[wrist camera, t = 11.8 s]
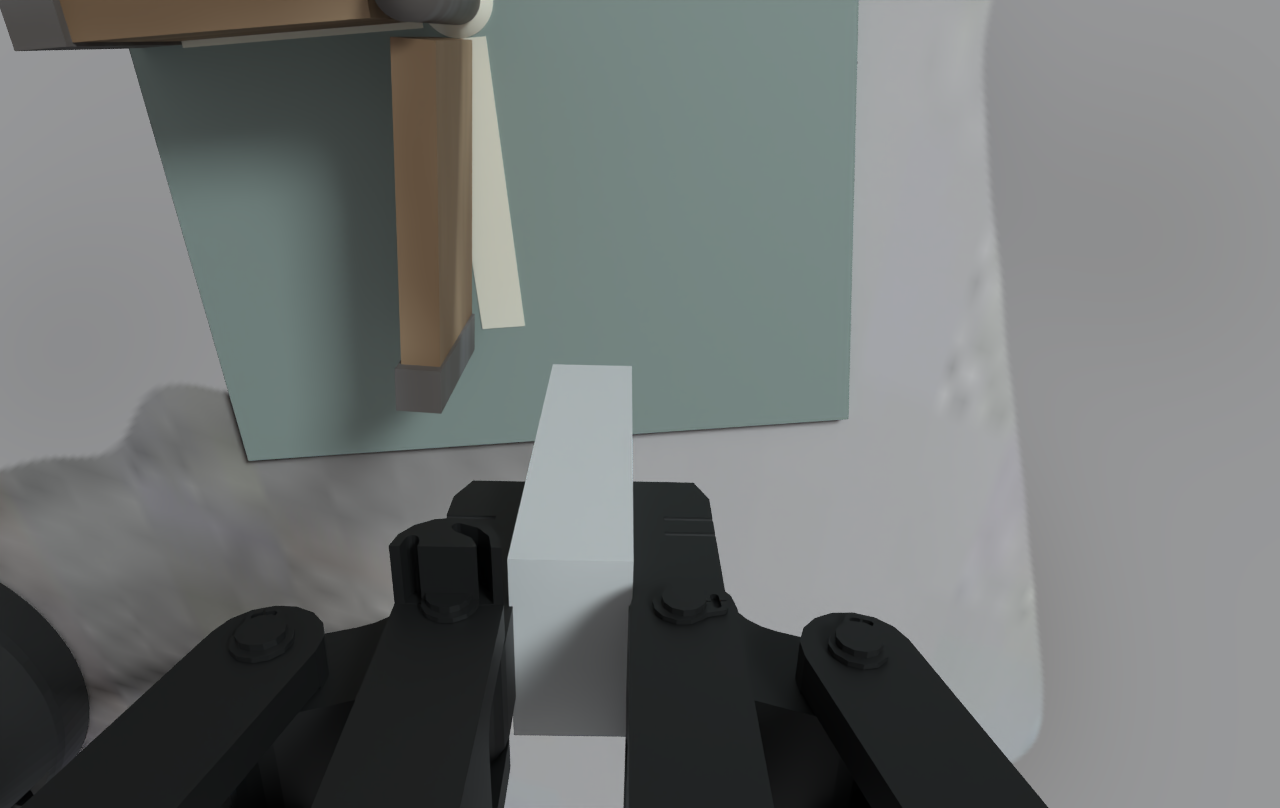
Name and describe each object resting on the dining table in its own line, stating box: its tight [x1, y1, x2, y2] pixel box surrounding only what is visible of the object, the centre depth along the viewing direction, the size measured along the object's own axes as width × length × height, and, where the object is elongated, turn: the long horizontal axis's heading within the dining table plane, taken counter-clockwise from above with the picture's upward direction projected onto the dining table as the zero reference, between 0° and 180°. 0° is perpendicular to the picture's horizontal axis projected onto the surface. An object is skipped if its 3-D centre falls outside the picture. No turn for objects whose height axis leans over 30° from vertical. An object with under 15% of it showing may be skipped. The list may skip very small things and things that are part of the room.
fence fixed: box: [0, 0, 480, 51], centre depth 25 cm, size 2×11×7 cm, turn 94°
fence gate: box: [390, 37, 475, 414], centre depth 27 cm, size 1×11×6 cm, turn 175°
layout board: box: [129, 0, 859, 461], centre depth 29 cm, size 24×24×1 cm
